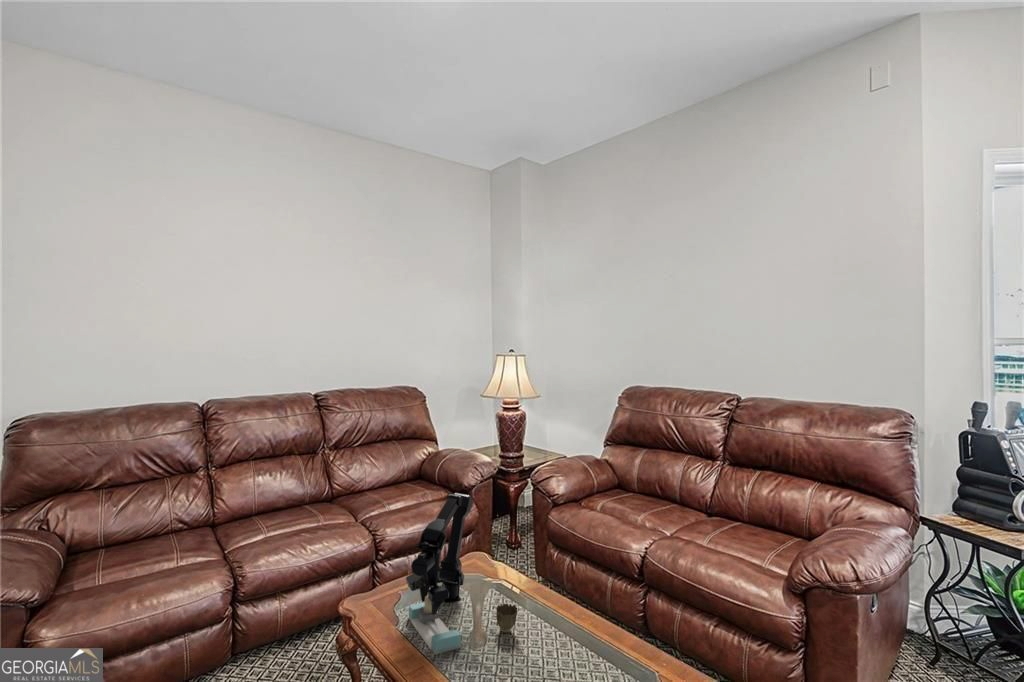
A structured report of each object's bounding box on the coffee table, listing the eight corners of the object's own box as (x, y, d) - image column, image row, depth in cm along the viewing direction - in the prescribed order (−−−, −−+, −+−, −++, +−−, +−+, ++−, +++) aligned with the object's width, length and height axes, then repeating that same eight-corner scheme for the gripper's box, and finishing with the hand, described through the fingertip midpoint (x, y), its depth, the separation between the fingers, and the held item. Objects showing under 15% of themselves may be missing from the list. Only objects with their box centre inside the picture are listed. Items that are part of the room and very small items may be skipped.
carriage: (432, 614, 186) (434, 592, 186) (437, 621, 183) (439, 598, 183) (417, 618, 183) (418, 595, 183) (421, 625, 180) (423, 602, 179)
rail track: (431, 612, 191) (432, 600, 191) (460, 647, 171) (461, 634, 171) (408, 618, 186) (409, 605, 186) (434, 654, 166) (435, 640, 166)
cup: (494, 624, 186) (496, 602, 186) (514, 625, 187) (516, 603, 187) (495, 637, 179) (497, 613, 179) (516, 637, 179) (518, 614, 179)
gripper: (400, 556, 186) (396, 600, 187) (420, 579, 171) (416, 627, 171) (429, 551, 192) (426, 593, 193) (451, 573, 176) (447, 619, 177)
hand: (428, 608), depth 183 cm, fingers open, 9 cm apart
